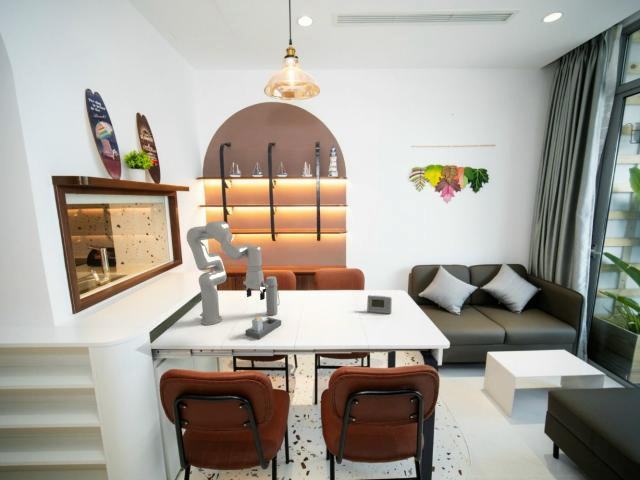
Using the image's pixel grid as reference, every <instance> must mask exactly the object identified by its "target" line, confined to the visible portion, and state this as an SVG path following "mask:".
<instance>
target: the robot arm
mask: <svg viewBox="0 0 640 480" xmlns="http://www.w3.org/2000/svg"><path fill="white" fill-rule="evenodd" d="M212 239H214V240H215V241H216V242H218V243H219V244H220V247H221V251H222V252H223V253H224V254H225V255H226V256H227V257H228V258H230V259H232V260H234V261H240V260H242V259H247V266H246V267H247V270H246V274H245V280H244V281H243V282H242V284H243V285H244V286H243V287H244V289H245V291H246V297H247V298H249V297H252V294H253V293H252V290H255V291H259V300H260V301H263V300H266V290H267V288H268V285H267V284H266V282H265V278H264V272H263V269H262V268H263V267H262V265H263V264H262V262H263V261H262V258H263V256H262V247H261V246H259V245H252V244H247V243H246V244H240V245H234V244H233V243H231V242H232V239H233V234H232V232H231V231H230V225H229V223H228V222H226V221H225V220H224V221H223V220H219V221H211V222H208V223H207V224H205V225H202V226H201V225H200V226H199V225H198V226H194V227H192V228H190V229H188V230H187V232H186V241H187V245H188V246H189V248H190V249H191V252H192V255H193V259H194V262H195V265H196V268H197V269H198V271H200V272H202V271H206V272H204V273H202V274H200V276H199V277H198V284H199V287H200V295H201V296H200V297H201V307H202V308H201V309H202V312H201V314H199V316H200V317H201V319H200V324H201V325H205V326H210V325H216V324H218V323H220V322H222V320H223V317H222V316H221V315H220V307H219V306H220V305H219V293H218V290H217V288H216V286H218V285H220V284H223V283H225V282H226V280H227V272H226V269H225V265H224V262H223V259H222V257H221V255H219V254H218V253H217V252H211V253H209V250H208V248H207V246H206V245H205V244H204V243H203V242H202V241H205V240H212ZM207 270H209V271H207Z"/></svg>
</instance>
